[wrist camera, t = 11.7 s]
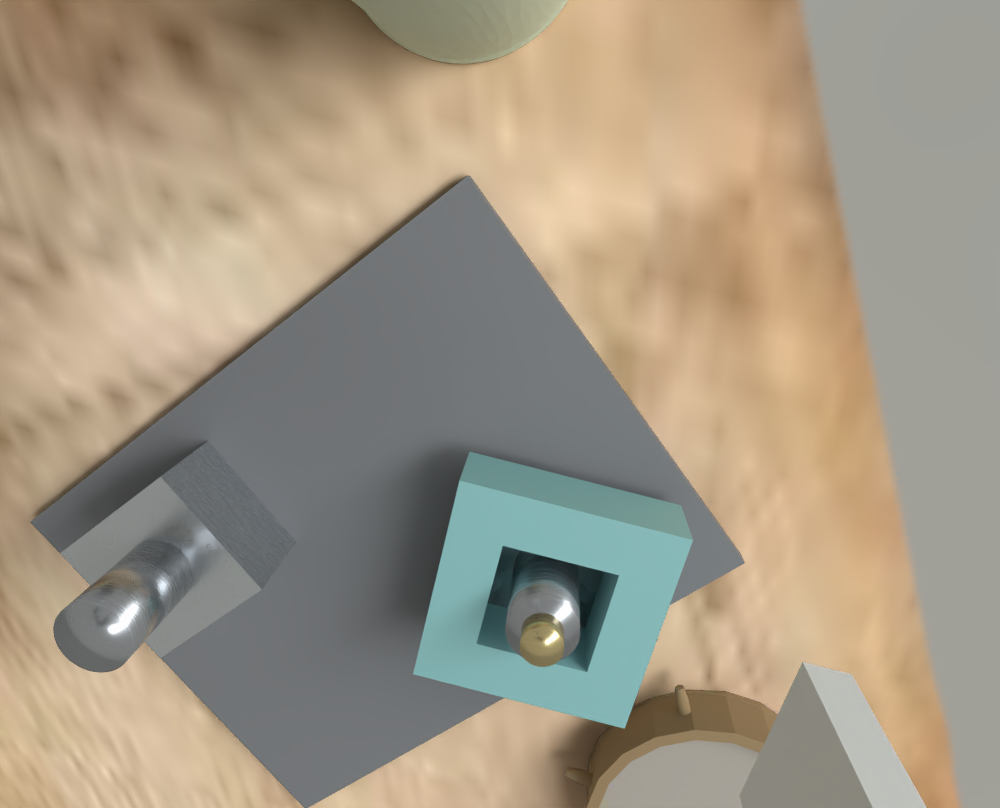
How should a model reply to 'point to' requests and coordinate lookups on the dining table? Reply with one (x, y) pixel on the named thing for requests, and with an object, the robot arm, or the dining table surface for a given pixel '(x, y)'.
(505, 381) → the mat
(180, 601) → the stand
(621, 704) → the teal square collar
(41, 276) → the dining table surface
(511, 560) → the bell
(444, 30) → the can
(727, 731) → the alarm clock
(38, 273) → the dining table surface
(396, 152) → the dining table surface
